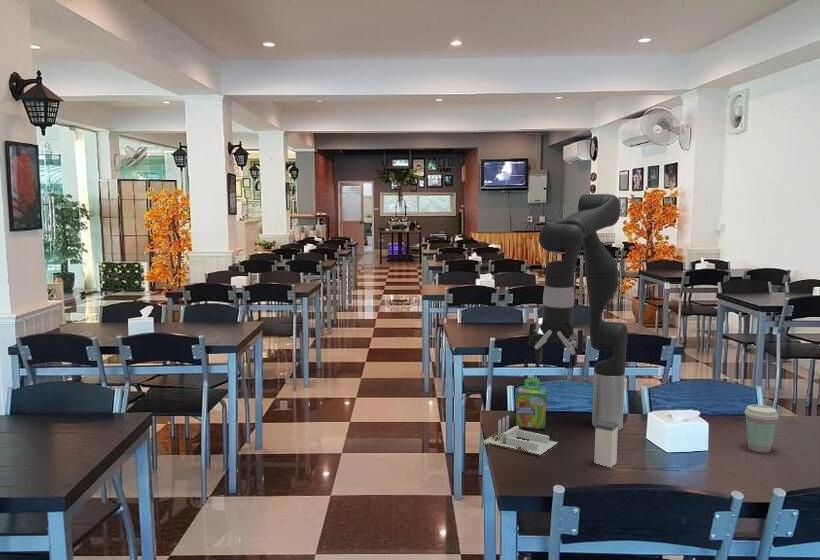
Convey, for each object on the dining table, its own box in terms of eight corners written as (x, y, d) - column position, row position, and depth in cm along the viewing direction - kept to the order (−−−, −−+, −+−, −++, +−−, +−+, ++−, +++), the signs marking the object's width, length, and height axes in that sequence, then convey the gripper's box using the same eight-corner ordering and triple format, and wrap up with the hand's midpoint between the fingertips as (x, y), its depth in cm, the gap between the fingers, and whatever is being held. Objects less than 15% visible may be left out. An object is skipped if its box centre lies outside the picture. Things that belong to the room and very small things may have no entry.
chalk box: (515, 428, 207) (516, 382, 206) (517, 420, 216) (518, 375, 215) (545, 431, 205) (546, 384, 204) (546, 422, 214) (547, 376, 213)
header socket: (540, 457, 183) (541, 433, 183) (482, 443, 194) (483, 421, 193) (557, 445, 193) (558, 422, 192) (502, 432, 203) (502, 411, 203)
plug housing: (599, 459, 182) (601, 420, 181) (616, 462, 180) (617, 423, 179) (594, 464, 179) (595, 424, 177) (610, 468, 176) (612, 427, 175)
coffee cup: (779, 449, 191) (782, 408, 190) (771, 456, 185) (773, 414, 184) (747, 442, 197) (750, 402, 196) (738, 449, 191) (740, 408, 190)
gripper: (590, 303, 167) (587, 365, 170) (536, 297, 175) (533, 357, 177) (582, 309, 161) (578, 373, 164) (526, 302, 168) (523, 364, 171)
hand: (555, 365), depth 171 cm, fingers open, 8 cm apart
